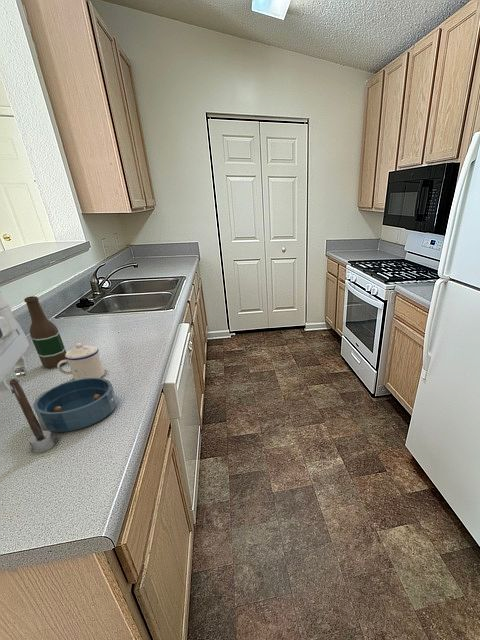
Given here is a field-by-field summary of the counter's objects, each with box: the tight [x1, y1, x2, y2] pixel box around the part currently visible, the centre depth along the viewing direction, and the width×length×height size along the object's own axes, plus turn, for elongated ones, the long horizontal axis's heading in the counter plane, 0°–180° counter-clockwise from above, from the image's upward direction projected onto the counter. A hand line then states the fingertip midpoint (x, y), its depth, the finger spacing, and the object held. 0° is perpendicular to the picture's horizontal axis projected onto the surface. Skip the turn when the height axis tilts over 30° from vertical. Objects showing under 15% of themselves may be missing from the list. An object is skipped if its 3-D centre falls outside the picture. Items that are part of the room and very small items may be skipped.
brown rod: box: [8, 378, 56, 454], centre depth 74 cm, size 4×4×18 cm
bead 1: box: [53, 406, 63, 412], centre depth 89 cm, size 2×2×2 cm
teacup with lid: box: [56, 342, 106, 380], centre depth 105 cm, size 12×9×12 cm
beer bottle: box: [23, 295, 68, 369], centre depth 112 cm, size 8×8×24 cm
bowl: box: [33, 377, 118, 433], centre depth 89 cm, size 18×18×6 cm
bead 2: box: [94, 394, 102, 400], centre depth 94 cm, size 2×2×2 cm
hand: (16, 385), depth 71 cm, fingers open, 8 cm apart
